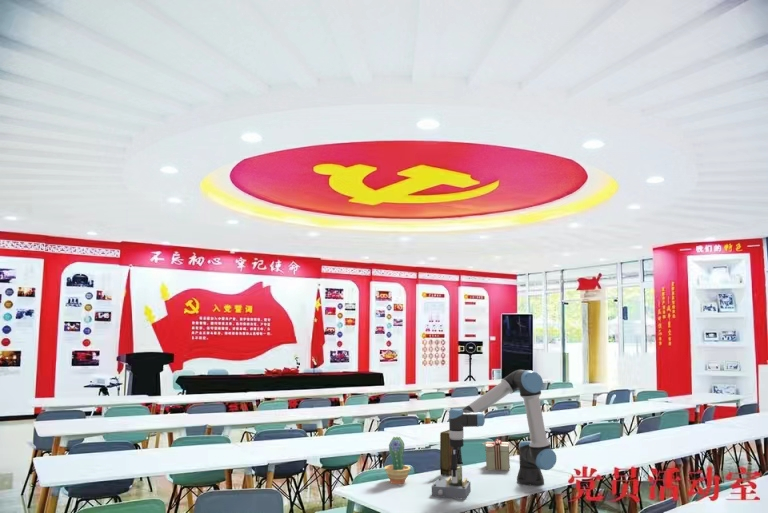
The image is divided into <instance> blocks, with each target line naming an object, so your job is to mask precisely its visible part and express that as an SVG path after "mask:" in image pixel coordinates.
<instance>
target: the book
mask: <svg viewBox="0 0 768 513" xmlns="http://www.w3.org/2000/svg"><path fill="white" fill-rule="evenodd" d="M448 432H449V429H448V430H447V429H446V430H445V431H441V432H440V433H439V434H440V435H439V441H440V444H439V445H440V446H439V448H440V452H439V455H440V456H439V457H440V460H439V462H440V465H439V466H440V469H439V470H440V475H441V476H447V477H452V470H450V468H451V462H452V450H453V447H451V446H450V445H449V439H450V437H449V435H450V434H449V433H448Z"/></svg>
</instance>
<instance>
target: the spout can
mask: <svg viewBox="0 0 768 513" xmlns="http://www.w3.org/2000/svg"><path fill="white" fill-rule="evenodd" d="M462 466H463V465H461V466H457V483H452V486H461V487H462V481H463V467H462Z"/></svg>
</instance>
